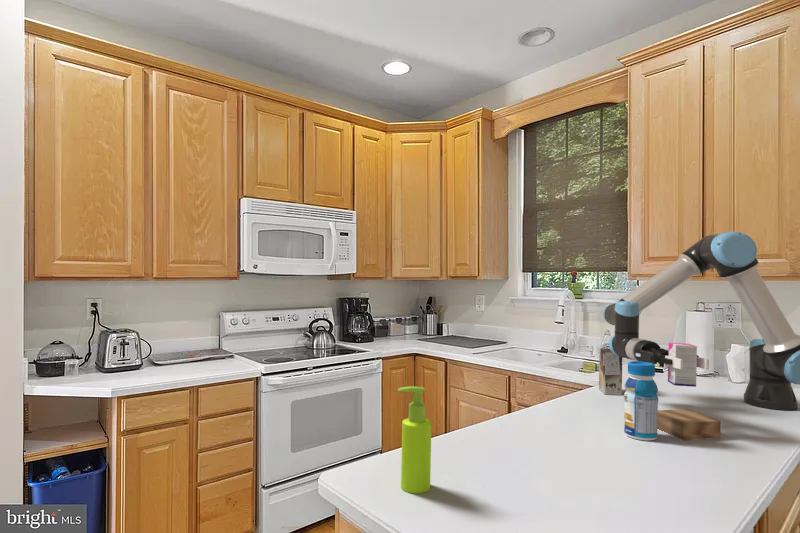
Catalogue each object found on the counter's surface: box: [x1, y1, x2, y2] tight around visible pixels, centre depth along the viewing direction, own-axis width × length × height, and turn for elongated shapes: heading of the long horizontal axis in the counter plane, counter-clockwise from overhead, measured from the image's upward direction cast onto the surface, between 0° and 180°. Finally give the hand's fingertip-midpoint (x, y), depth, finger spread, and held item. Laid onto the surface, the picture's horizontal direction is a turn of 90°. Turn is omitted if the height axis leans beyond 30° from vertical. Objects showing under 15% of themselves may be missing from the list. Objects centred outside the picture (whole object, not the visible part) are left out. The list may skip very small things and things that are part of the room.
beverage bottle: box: [623, 360, 659, 442], centre depth 133 cm, size 8×8×20 cm
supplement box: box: [667, 342, 698, 388], centre depth 138 cm, size 6×6×12 cm
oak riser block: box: [657, 408, 722, 441], centre depth 137 cm, size 12×12×5 cm
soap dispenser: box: [397, 385, 432, 495], centre depth 98 cm, size 6×7×20 cm
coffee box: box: [598, 348, 623, 396], centre depth 185 cm, size 9×6×16 cm
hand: (694, 364), depth 133 cm, fingers closed on supplement box, 7 cm apart
